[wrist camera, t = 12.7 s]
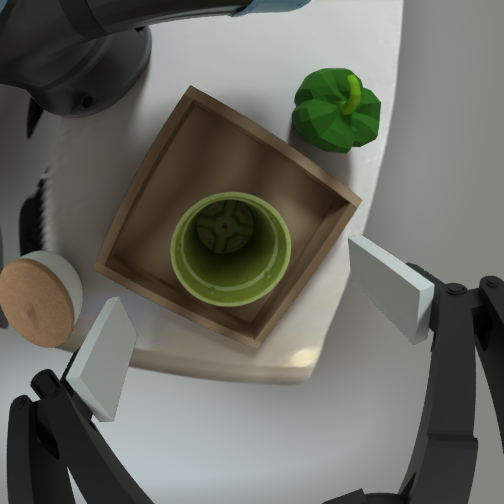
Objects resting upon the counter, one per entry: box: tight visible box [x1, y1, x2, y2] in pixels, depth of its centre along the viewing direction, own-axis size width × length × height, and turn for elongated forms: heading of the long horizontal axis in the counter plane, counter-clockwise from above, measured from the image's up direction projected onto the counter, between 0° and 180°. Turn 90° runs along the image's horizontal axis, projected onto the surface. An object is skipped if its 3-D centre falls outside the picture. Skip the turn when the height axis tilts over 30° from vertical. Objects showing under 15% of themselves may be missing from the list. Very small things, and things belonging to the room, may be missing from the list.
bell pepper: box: [292, 68, 381, 153], centre depth 25 cm, size 8×8×10 cm
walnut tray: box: [93, 85, 362, 349], centre depth 29 cm, size 20×20×5 cm
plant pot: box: [170, 192, 291, 306], centre depth 26 cm, size 9×9×9 cm
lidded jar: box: [0, 251, 83, 348], centre depth 27 cm, size 11×11×9 cm
